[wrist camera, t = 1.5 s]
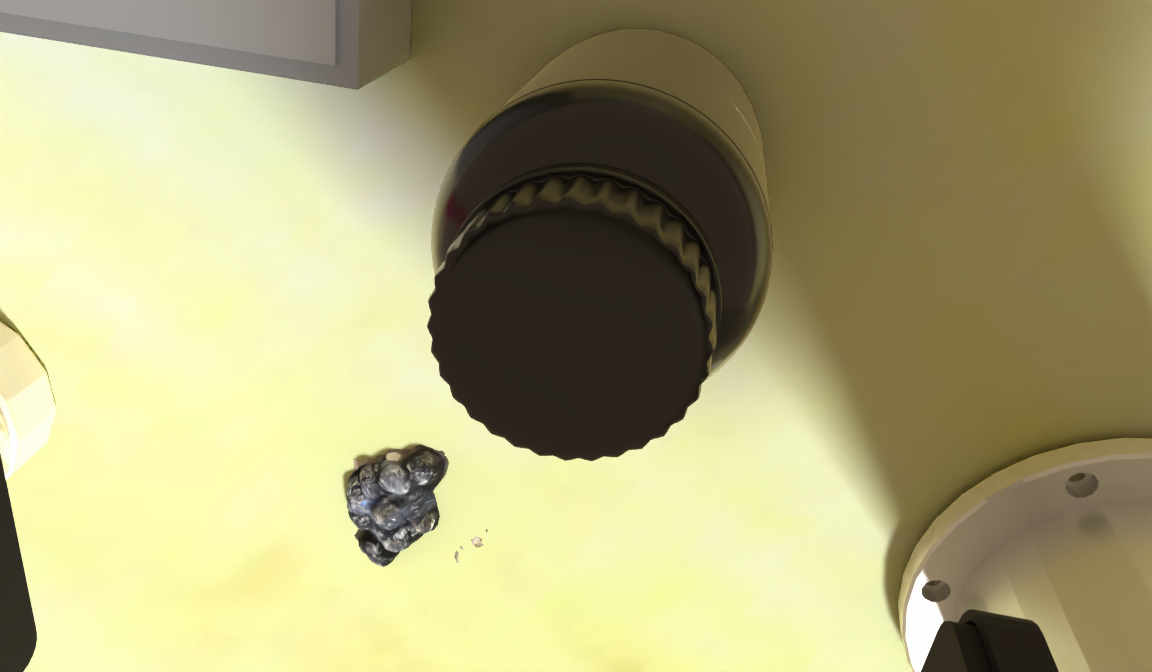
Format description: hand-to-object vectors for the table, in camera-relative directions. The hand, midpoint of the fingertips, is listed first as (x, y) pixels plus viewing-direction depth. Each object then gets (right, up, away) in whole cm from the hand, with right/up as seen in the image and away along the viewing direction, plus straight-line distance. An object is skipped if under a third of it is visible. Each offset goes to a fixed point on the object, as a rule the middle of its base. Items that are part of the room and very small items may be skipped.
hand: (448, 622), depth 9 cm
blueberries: (-5, -3, +24) cm, 24 cm away
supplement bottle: (+3, +8, +17) cm, 19 cm away
